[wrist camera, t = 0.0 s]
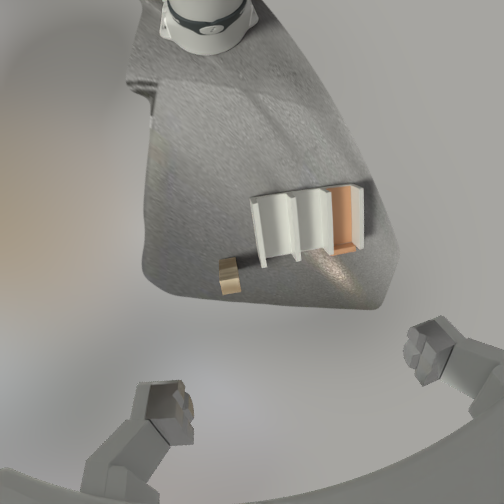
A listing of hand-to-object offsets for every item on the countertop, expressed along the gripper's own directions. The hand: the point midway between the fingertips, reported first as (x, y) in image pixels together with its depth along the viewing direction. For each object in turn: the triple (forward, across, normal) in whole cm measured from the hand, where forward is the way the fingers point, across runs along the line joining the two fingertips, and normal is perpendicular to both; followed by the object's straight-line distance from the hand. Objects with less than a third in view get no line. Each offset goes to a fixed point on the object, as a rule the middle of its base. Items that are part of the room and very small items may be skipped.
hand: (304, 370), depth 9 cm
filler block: (+48, +4, +19) cm, 52 cm away
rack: (+48, -14, +12) cm, 51 cm away
